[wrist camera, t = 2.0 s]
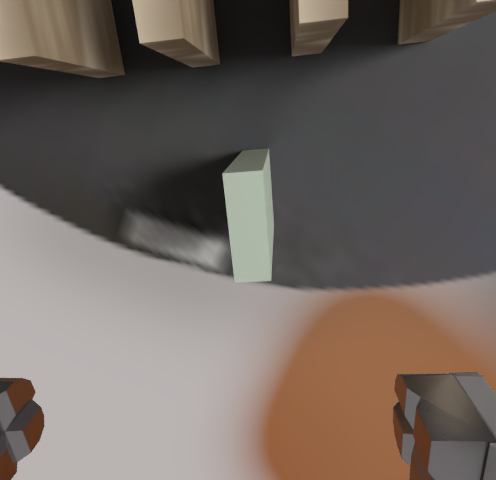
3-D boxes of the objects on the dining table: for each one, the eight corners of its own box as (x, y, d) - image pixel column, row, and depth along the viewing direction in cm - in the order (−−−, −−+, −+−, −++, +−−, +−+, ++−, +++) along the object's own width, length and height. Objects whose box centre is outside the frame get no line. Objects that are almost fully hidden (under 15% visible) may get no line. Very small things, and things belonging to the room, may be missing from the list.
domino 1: (98, 78, 26) (-5, 60, 16) (78, -20, 24) (-54, -104, 14) (125, 75, 25) (35, 55, 16) (106, -24, 23) (-10, -112, 14)
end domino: (249, 225, 29) (234, 282, 19) (242, 150, 27) (222, 173, 17) (273, 224, 28) (271, 280, 19) (268, 148, 26) (262, 170, 17)
